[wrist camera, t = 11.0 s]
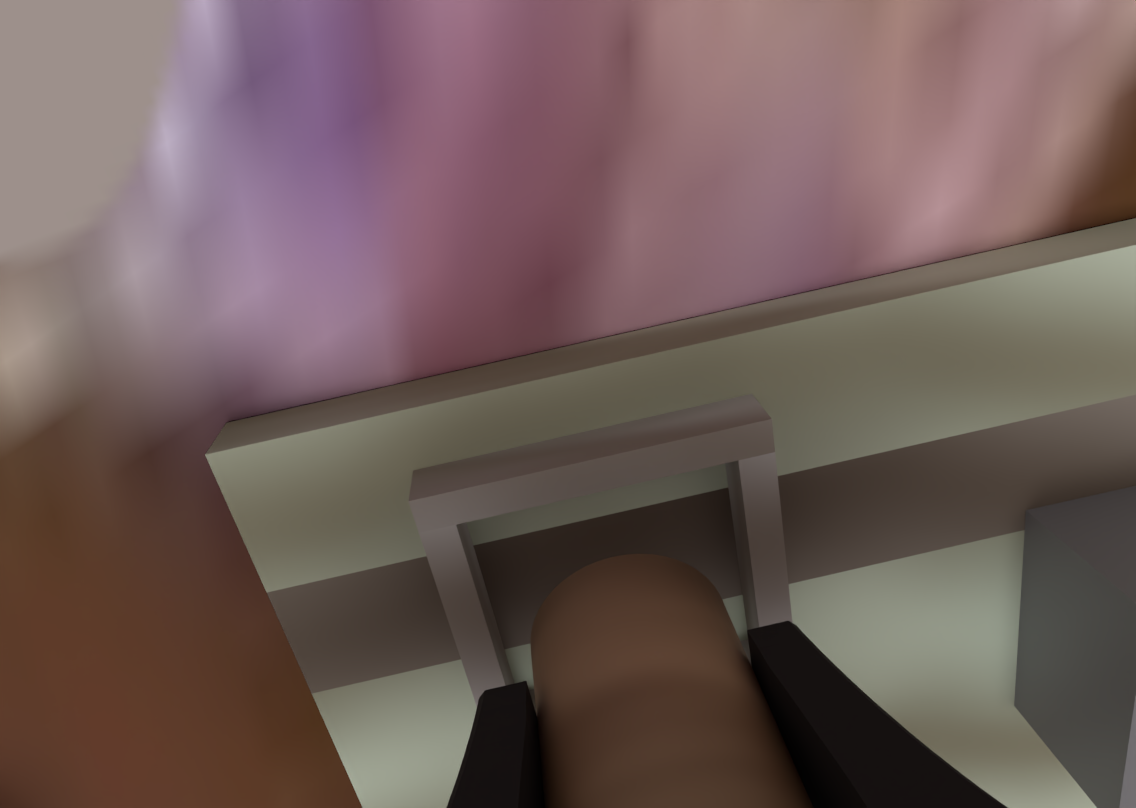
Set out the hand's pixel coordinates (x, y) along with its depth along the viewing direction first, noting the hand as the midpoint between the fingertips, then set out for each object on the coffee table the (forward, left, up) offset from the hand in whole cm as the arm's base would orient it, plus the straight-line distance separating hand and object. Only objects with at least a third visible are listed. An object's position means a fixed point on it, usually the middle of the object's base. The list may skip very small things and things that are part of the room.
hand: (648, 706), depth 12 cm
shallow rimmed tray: (-4, -4, -4) cm, 7 cm away
